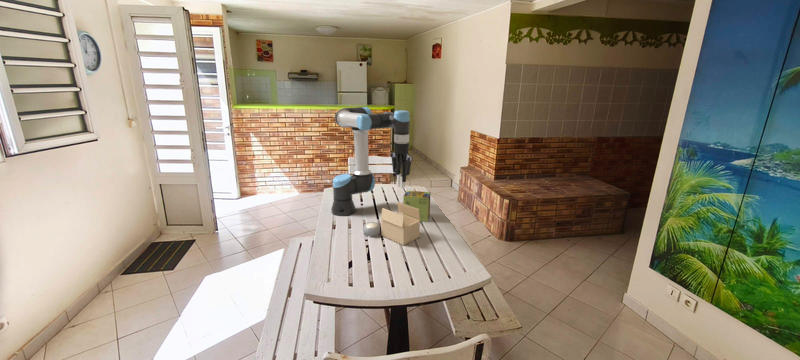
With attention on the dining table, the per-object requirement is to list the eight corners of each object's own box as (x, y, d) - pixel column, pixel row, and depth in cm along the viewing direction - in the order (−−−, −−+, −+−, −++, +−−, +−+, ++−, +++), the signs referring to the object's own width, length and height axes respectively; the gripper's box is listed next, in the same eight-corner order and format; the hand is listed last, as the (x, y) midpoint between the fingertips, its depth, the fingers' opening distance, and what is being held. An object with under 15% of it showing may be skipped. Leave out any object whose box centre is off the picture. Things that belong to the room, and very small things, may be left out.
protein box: (428, 222, 204) (428, 197, 199) (402, 219, 207) (403, 195, 202) (430, 215, 214) (431, 192, 209) (405, 213, 217) (406, 190, 212)
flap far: (419, 219, 182) (420, 219, 183) (418, 209, 180) (419, 209, 180) (398, 211, 192) (399, 211, 192) (397, 202, 190) (397, 202, 190)
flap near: (381, 218, 183) (381, 218, 182) (382, 208, 182) (382, 208, 181) (402, 227, 173) (402, 227, 173) (404, 216, 172) (403, 216, 172)
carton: (380, 235, 186) (380, 218, 183) (396, 228, 196) (397, 211, 193) (404, 246, 176) (404, 228, 173) (420, 237, 185) (420, 220, 182)
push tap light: (360, 233, 189) (360, 225, 187) (372, 228, 195) (372, 220, 194) (371, 238, 183) (371, 230, 181) (383, 233, 189) (383, 225, 188)
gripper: (385, 141, 172) (385, 185, 179) (407, 145, 163) (406, 192, 170) (395, 139, 177) (395, 182, 184) (417, 143, 168) (416, 188, 175)
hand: (400, 187), depth 177 cm, fingers open, 2 cm apart
